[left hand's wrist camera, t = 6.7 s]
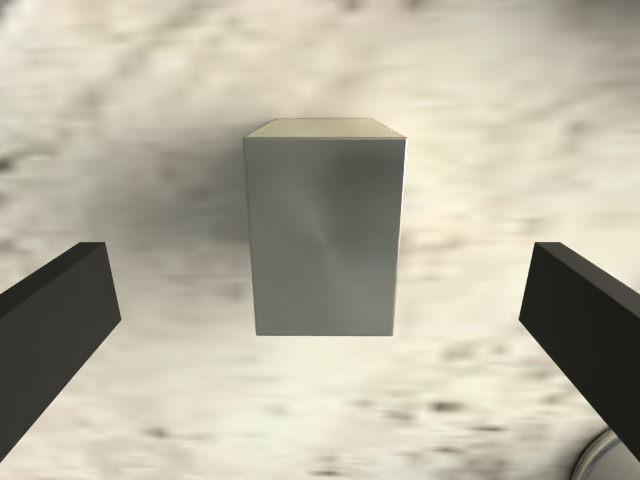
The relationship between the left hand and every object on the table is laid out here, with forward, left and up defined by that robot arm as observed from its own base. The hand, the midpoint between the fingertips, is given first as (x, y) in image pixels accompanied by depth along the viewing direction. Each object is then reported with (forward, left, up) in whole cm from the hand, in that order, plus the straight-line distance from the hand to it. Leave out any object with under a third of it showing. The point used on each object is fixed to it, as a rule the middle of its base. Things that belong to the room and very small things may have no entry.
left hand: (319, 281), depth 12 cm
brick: (0, 0, -15) cm, 15 cm away
